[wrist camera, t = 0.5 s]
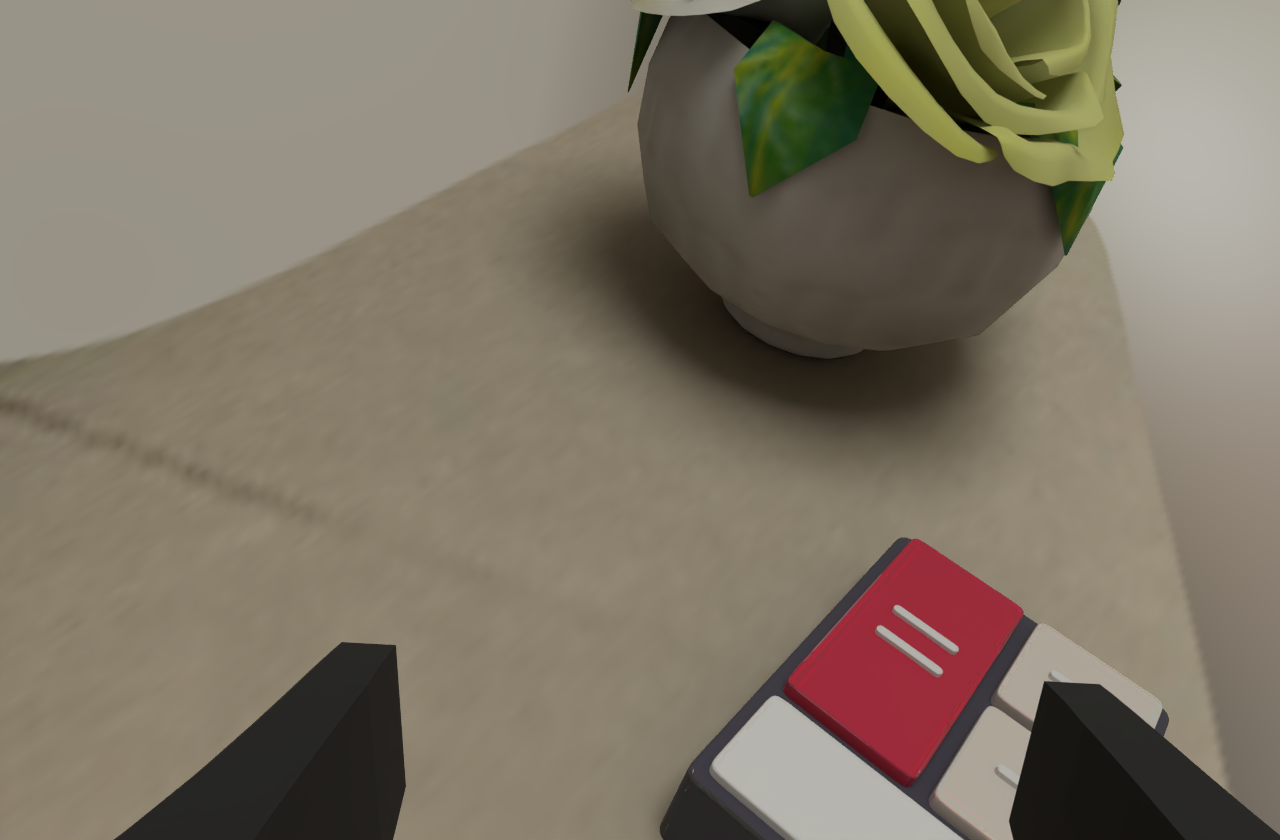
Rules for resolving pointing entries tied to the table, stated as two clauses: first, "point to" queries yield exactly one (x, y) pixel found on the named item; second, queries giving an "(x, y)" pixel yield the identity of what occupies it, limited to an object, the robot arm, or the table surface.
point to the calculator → (892, 717)
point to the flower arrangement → (875, 157)
